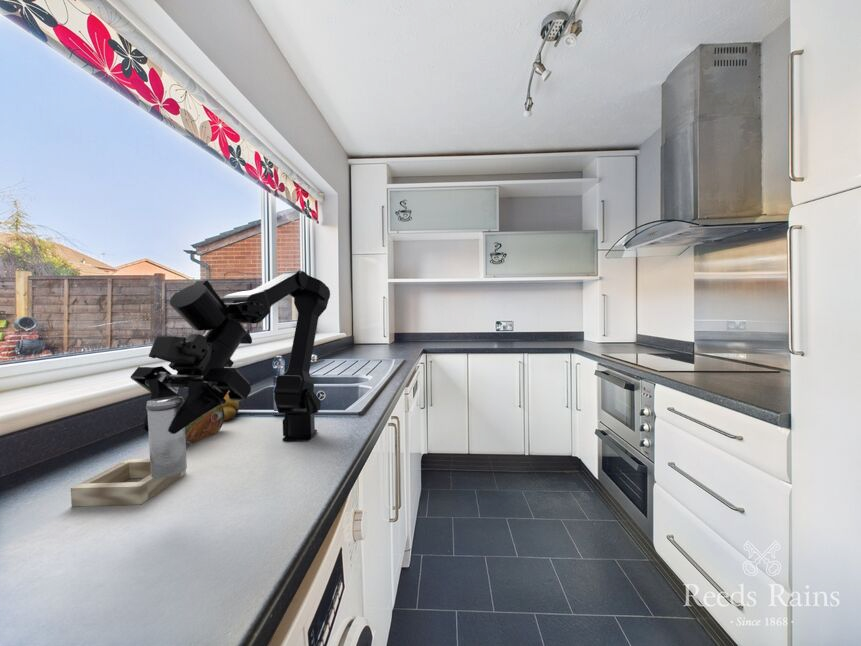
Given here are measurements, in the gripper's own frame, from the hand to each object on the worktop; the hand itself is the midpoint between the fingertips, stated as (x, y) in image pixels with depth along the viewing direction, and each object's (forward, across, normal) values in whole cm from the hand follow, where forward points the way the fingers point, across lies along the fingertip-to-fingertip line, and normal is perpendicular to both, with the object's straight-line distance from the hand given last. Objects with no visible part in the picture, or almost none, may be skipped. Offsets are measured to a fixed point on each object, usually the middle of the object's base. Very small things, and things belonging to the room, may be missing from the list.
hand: (158, 431), depth 52 cm
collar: (+5, -15, +14) cm, 21 cm away
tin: (-11, -24, +30) cm, 40 cm away
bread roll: (-22, -33, +42) cm, 57 cm away
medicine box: (-28, -17, +48) cm, 58 cm away
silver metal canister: (+4, 0, +6) cm, 7 cm away
